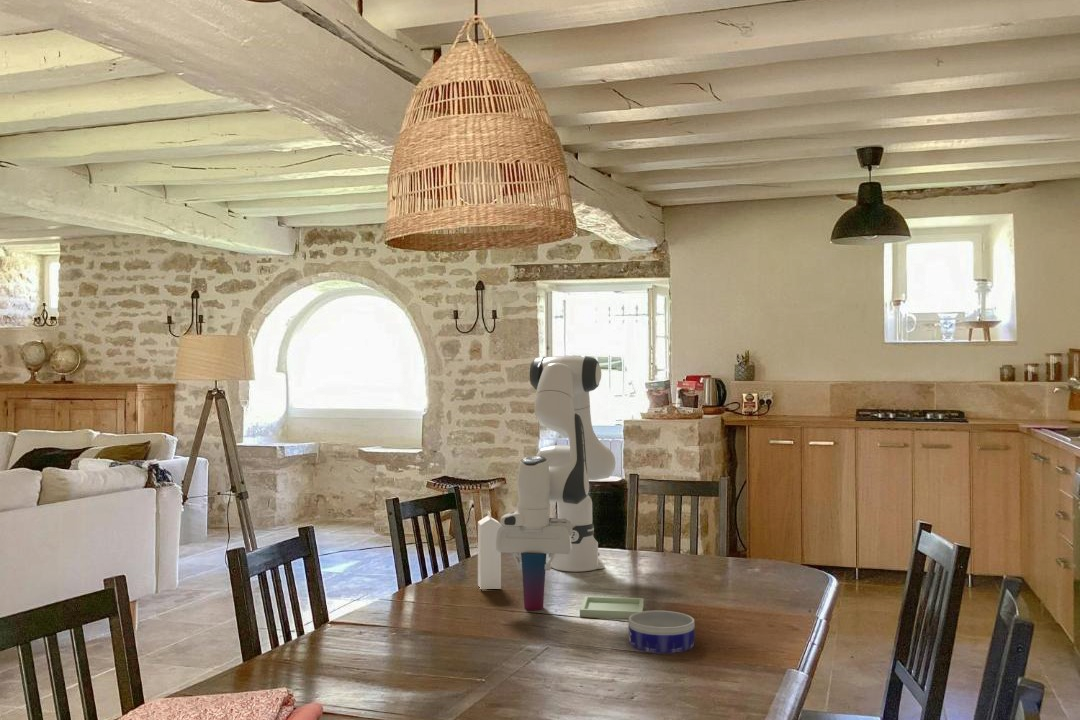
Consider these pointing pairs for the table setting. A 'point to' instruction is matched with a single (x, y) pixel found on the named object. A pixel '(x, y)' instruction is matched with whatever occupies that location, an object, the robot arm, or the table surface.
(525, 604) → the cup
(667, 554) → the table surface
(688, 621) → the dog bowl
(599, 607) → the tray
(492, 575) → the milk
